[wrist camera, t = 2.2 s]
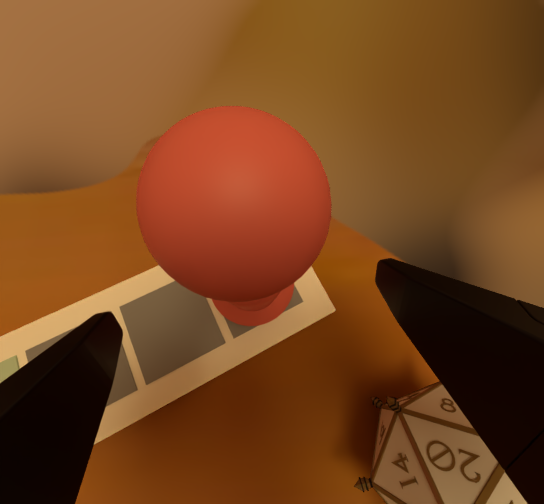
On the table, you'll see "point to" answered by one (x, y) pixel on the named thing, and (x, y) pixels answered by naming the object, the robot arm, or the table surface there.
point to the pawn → (234, 209)
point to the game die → (433, 455)
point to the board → (164, 339)
